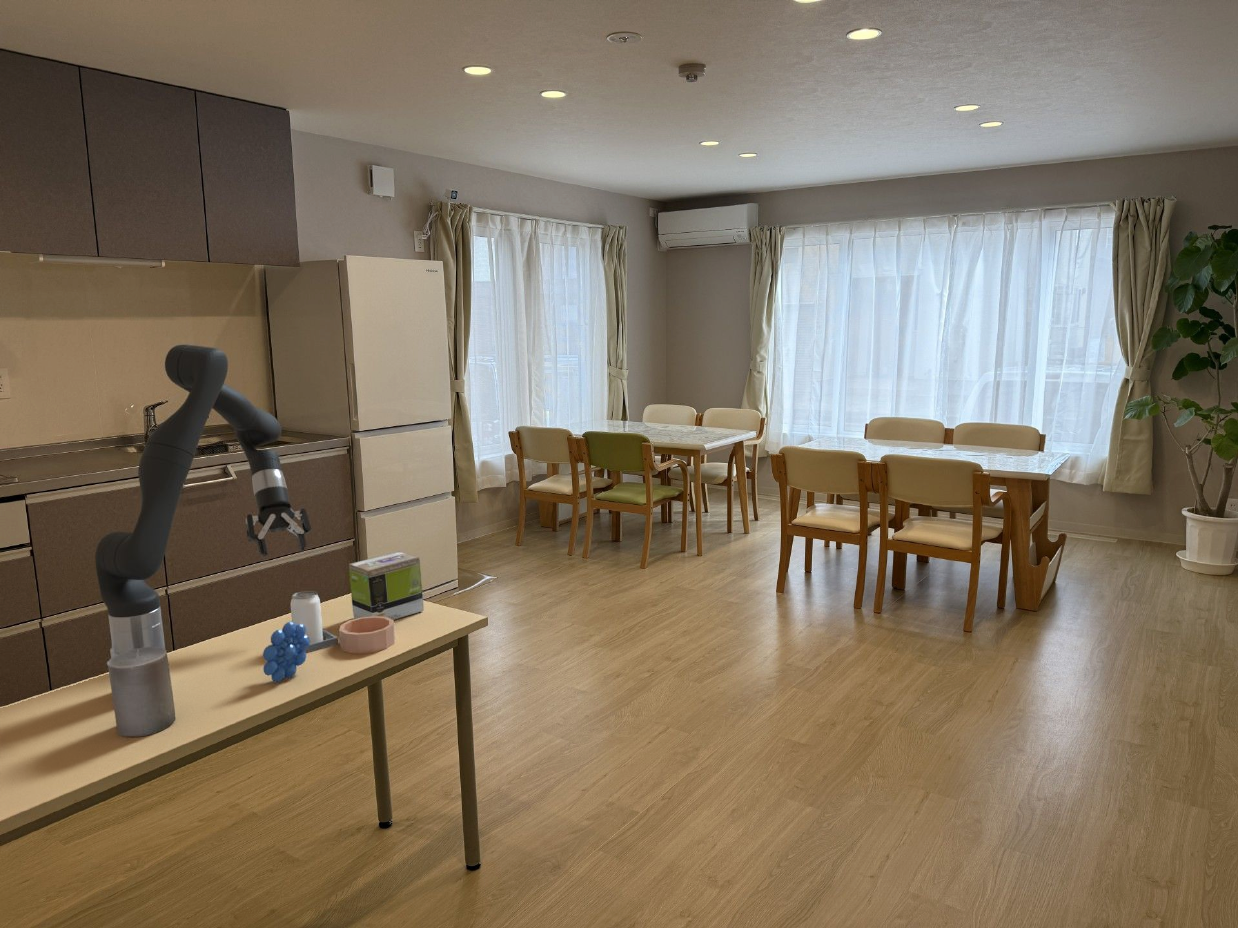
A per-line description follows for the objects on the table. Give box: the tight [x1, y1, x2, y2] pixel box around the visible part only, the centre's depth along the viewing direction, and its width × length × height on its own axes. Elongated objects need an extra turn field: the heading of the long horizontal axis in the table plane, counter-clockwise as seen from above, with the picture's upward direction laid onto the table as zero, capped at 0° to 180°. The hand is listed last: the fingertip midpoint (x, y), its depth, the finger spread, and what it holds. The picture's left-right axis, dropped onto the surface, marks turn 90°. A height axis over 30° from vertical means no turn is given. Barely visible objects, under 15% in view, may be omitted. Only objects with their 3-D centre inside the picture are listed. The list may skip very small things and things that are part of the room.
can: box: [290, 590, 324, 644], centre depth 196 cm, size 6×6×12 cm
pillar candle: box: [106, 647, 176, 738], centre depth 156 cm, size 10×10×15 cm
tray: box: [302, 627, 339, 654], centre depth 197 cm, size 10×10×2 cm
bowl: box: [339, 616, 396, 655], centre depth 196 cm, size 12×12×4 cm
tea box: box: [348, 551, 425, 621], centre depth 215 cm, size 15×10×15 cm, turn 136°
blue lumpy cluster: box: [262, 620, 310, 683], centre depth 177 cm, size 12×7×12 cm, turn 151°
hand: (283, 553), depth 201 cm, fingers open, 8 cm apart
